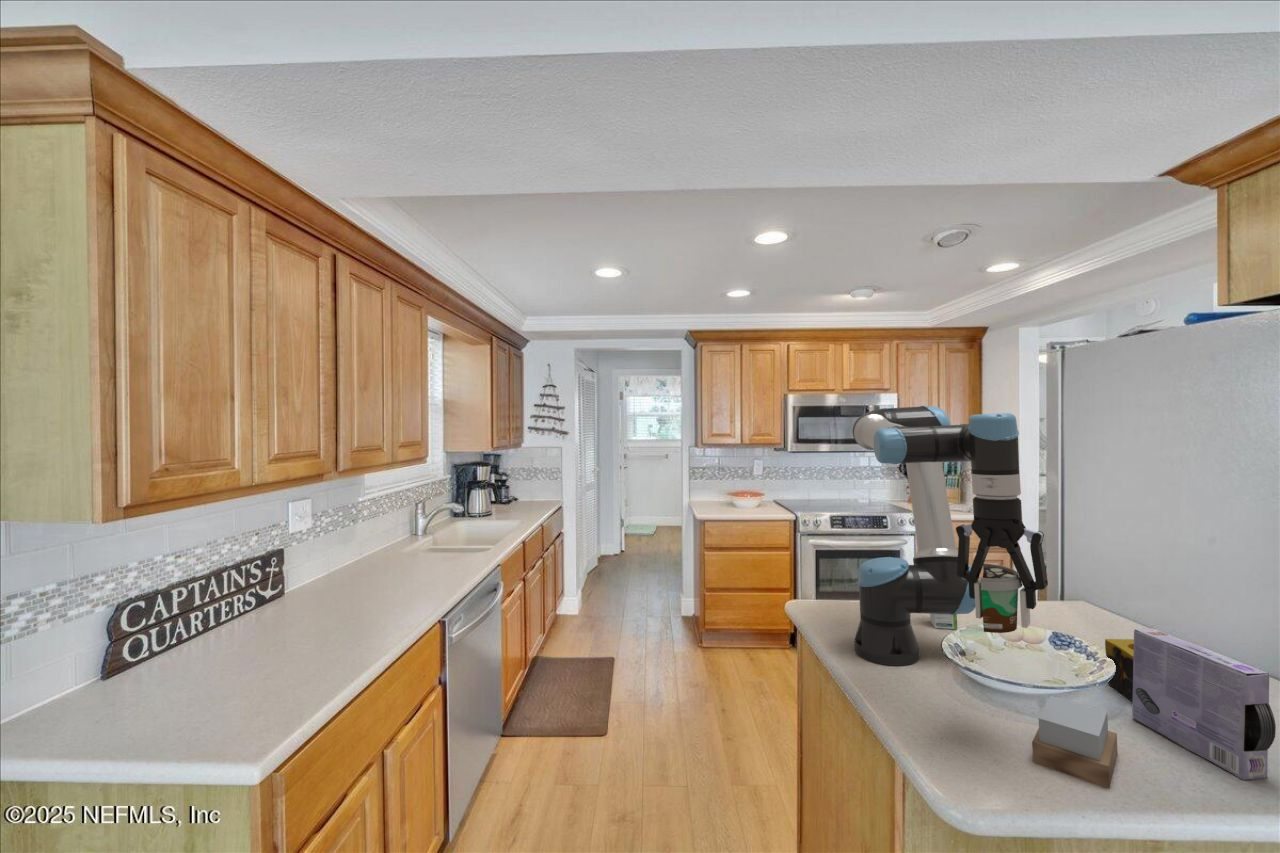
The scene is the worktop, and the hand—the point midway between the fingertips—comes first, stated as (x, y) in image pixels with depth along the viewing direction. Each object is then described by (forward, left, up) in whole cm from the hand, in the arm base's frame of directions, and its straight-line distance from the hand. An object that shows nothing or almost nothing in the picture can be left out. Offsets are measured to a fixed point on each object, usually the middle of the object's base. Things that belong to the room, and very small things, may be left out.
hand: (1002, 620), depth 100 cm
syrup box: (-25, +48, -22) cm, 59 cm away
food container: (0, 0, -1) cm, 1 cm away
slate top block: (+10, 0, -18) cm, 21 cm away
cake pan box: (+25, +17, -22) cm, 37 cm away
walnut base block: (+10, 0, -22) cm, 24 cm away
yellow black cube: (+18, +34, -22) cm, 44 cm away
